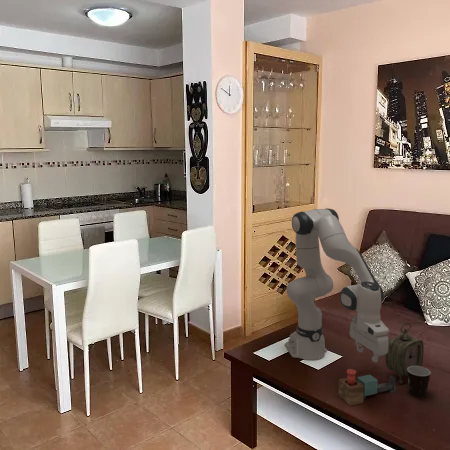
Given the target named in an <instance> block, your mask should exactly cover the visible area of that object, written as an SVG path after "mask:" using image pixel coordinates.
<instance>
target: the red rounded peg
mask: <svg viewBox="0 0 450 450" xmlns="http://www.w3.org/2000/svg"><path fill="white" fill-rule="evenodd" d="M346 375H347V377H346V378H347V384H348V385H349V386H353V385H355V380H356V375H357V370H355V369H353V368H348V369H347V370H346Z"/></svg>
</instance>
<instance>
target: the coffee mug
mask: <svg viewBox="0 0 450 450" xmlns="http://www.w3.org/2000/svg"><path fill="white" fill-rule="evenodd" d="M407 372H408V376H407V382H408V393H409V395H410V396H412V397H413V398H417V399H424V398H426V397H427V393H428V387H429V382H430V378H431V377H430V376H431V371H430V369H428V368H427V367H424V366H422V367H421V366H410V367H408V368H407Z"/></svg>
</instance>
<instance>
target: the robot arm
mask: <svg viewBox="0 0 450 450" xmlns="http://www.w3.org/2000/svg"><path fill="white" fill-rule="evenodd" d="M291 228H292V230H293V232H294V233H295V255H296V264H297V265H298V266H299V267H300V268H301V269H303V271H304V273H305V276H302V277H299V278H298V277H297V278H295V279H293V280H291V281H290V282H289V283H287V285H286V294H287V297H288V299H290V301H292V302H293V303H294V304H295V305H296V308H297V321H298V323H296V325H295V326H296V330H295V331H294V332H292V333H290V335H289V339H288V341H286V342H284V347H285V348H286V350H287V351H288V353H289V355H290V356H291V357H292V358H295V359H296V358H297V359H302V360H307V361H315V360H321V359H323V358H324V357H325V355H326V353H327V352H328V349H327V348H326V346H325V345H326V344H325V343H326V342H325V336H324V335H323V333H324V332H323V329H324V328H323V325H322V320H323V319H322V314H323V313H322V310H321V309H320V308H319V306H316V304H315V299H317V298H321V297H325V296H326V295H328V294H329V293H331V292H332V291H333V290H334V281H333V278H332V276H330V275H329V274H327V272H326V271H325V269H324V267H323V264H322V261H321V260H322V259H321V252H320V251H321V250H320V245H321V248H322V251H323V252H324V254H325V255H326V256H327V257H328V258H330V259H331V260H334V261H339V262H342V263H344V264H347V265H349V266H350V267H351V268H352V269H353V270H354V272H355V274H356V276H357V278H358V279H359V281H360V283H358V284H353V285H347V286H345V287H343V288H341V291H340V295H339V299H340V303H341V305H342V306H343V307H344V308H345V309H346V310H350V311H356V313H357V314H356V315H355V316H353V317H352V318H351V322H350V327H349V336H350V338H351V339H353V340H355V344H356V350H357V352H358V353H363V352H364V347H365V348H367V349H368V350H369V351H372V353H373V354H372V355H373V356H371V362H373V363H378V361H379V357H380V356H386V354H387V353H388V344H389V336H388V335H389V334H390V329H389V328H388V327H387V326H386V324H385V323H384V322H383V321H382V320H381V309H382V303H383V300H384V296H385V292H384V290H383V288H382V286H381V285H380V283H379V282H378V281H377V279H376V278H375V276H374V275H373V273H372V271H371V269H370V267H369V266H368V264H367V262H366V260H365V259H364V257H363V255H362V253H361V251H359V249H357V248H356V247H354V245H353V244H352V243H351V242H350V241H349V239H348V237H347V235H346V231H345V230H344V228H343V226H342V224H341V222H340V217H339V215H338V212H337V211H336V209H333V208H315V209H311V210H310V209H309V210H305V211H298V212H296V213H294V214H293V216H292V218H291ZM363 346H364V347H363Z"/></svg>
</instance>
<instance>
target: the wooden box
mask: <svg viewBox="0 0 450 450" xmlns="http://www.w3.org/2000/svg"><path fill="white" fill-rule="evenodd" d="M363 395H364V386H363V385H362V384H360V383H359V382H358V381H357V379H355V385H353V386H349V385H348V384H347V377H344V378H340V379H338V396H339V398H341V399H342V400H343V401H344V402H345V403H347V404H348V406H349V407H350V406H355V405H359V404H363V403H364V399H363Z"/></svg>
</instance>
